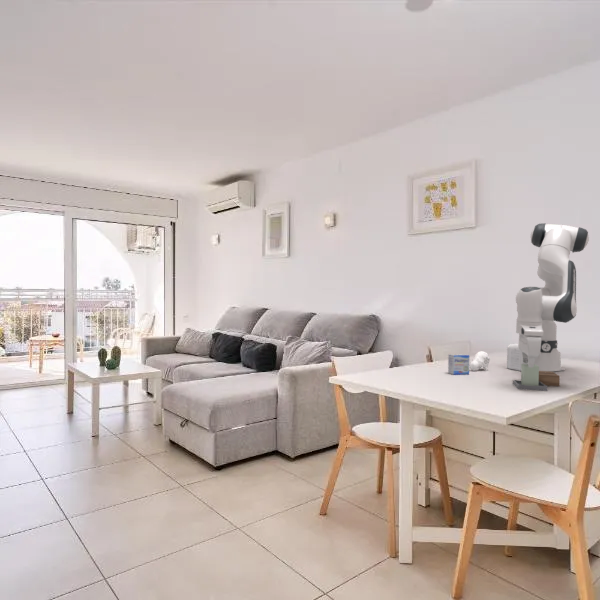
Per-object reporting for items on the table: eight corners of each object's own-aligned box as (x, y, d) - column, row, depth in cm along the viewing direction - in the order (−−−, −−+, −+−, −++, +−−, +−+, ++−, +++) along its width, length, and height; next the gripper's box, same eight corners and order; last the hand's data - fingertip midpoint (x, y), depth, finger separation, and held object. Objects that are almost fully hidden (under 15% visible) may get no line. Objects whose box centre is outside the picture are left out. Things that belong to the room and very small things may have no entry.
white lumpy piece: (490, 351, 214) (477, 355, 206) (491, 369, 214) (478, 374, 207) (478, 349, 218) (464, 354, 211) (478, 367, 219) (465, 372, 211)
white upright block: (530, 371, 211) (531, 344, 211) (524, 372, 209) (525, 345, 209) (511, 368, 220) (511, 342, 220) (505, 368, 218) (505, 342, 218)
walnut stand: (525, 379, 190) (525, 370, 190) (552, 381, 187) (552, 371, 187) (531, 384, 180) (531, 374, 180) (559, 386, 178) (559, 375, 177)
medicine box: (453, 375, 199) (453, 355, 199) (447, 373, 203) (448, 353, 203) (469, 374, 201) (469, 355, 200) (463, 372, 205) (464, 353, 205)
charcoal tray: (512, 383, 181) (512, 380, 181) (540, 385, 178) (540, 381, 178) (518, 389, 171) (518, 385, 171) (547, 390, 169) (547, 386, 169)
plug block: (521, 384, 178) (521, 363, 178) (535, 385, 177) (535, 364, 176) (523, 386, 173) (524, 365, 173) (538, 387, 172) (538, 366, 172)
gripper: (514, 326, 186) (513, 360, 186) (525, 331, 166) (524, 369, 167) (531, 326, 184) (530, 360, 185) (544, 332, 164) (543, 370, 165)
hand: (527, 364), depth 175 cm, fingers open, 8 cm apart
